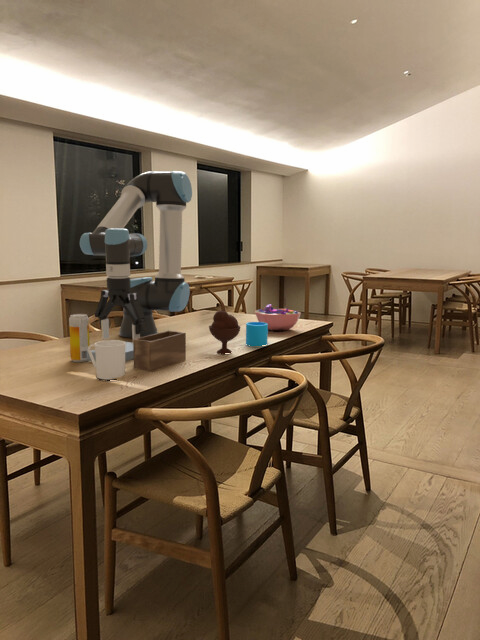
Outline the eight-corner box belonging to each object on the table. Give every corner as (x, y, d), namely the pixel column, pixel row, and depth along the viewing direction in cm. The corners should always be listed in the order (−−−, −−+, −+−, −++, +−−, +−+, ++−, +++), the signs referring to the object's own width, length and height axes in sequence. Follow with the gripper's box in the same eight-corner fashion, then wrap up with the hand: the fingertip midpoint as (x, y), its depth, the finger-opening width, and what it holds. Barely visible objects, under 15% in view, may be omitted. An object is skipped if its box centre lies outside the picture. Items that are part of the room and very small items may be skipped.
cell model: (299, 335, 223) (300, 308, 221) (251, 332, 226) (252, 306, 224) (301, 327, 240) (302, 302, 238) (256, 325, 243) (257, 301, 241)
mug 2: (260, 348, 198) (260, 326, 196) (241, 345, 202) (242, 324, 201) (276, 342, 208) (276, 321, 206) (257, 340, 212) (258, 319, 211)
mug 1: (129, 373, 161) (128, 340, 159) (123, 382, 152) (122, 346, 150) (92, 373, 160) (91, 339, 159) (84, 381, 152) (83, 346, 150)
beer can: (82, 357, 180) (81, 313, 177) (93, 360, 176) (92, 315, 173) (66, 360, 175) (65, 315, 173) (77, 363, 171) (76, 317, 169)
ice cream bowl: (213, 357, 183) (213, 313, 180) (206, 349, 193) (206, 308, 191) (243, 355, 186) (243, 312, 183) (234, 348, 196) (235, 308, 194)
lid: (87, 363, 172) (87, 351, 172) (126, 352, 188) (126, 341, 187) (113, 368, 167) (112, 355, 166) (150, 357, 182) (150, 345, 182)
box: (133, 371, 163) (133, 339, 162) (168, 360, 178) (168, 330, 176) (151, 374, 160) (151, 342, 158) (185, 363, 174) (185, 332, 173)
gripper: (82, 275, 176) (85, 338, 180) (140, 280, 163) (142, 348, 167) (98, 273, 182) (101, 334, 186) (156, 278, 170) (157, 343, 174)
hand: (120, 341), depth 177 cm, fingers open, 13 cm apart
